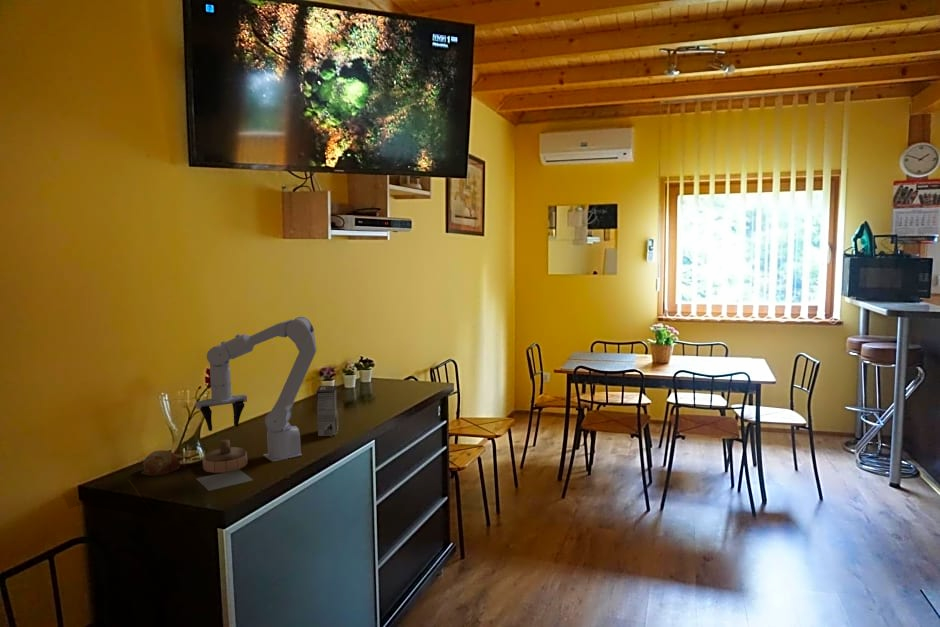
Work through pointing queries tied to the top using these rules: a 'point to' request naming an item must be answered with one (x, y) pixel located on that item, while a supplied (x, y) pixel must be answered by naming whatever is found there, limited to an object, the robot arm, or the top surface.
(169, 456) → the bread roll
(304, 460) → the top surface
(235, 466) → the bowl
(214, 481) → the mat
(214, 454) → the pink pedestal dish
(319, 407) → the coffee box
